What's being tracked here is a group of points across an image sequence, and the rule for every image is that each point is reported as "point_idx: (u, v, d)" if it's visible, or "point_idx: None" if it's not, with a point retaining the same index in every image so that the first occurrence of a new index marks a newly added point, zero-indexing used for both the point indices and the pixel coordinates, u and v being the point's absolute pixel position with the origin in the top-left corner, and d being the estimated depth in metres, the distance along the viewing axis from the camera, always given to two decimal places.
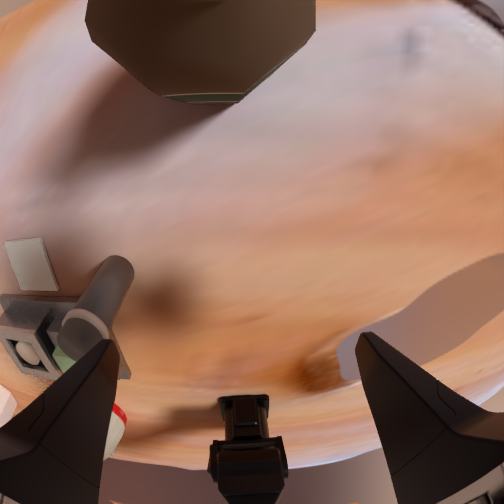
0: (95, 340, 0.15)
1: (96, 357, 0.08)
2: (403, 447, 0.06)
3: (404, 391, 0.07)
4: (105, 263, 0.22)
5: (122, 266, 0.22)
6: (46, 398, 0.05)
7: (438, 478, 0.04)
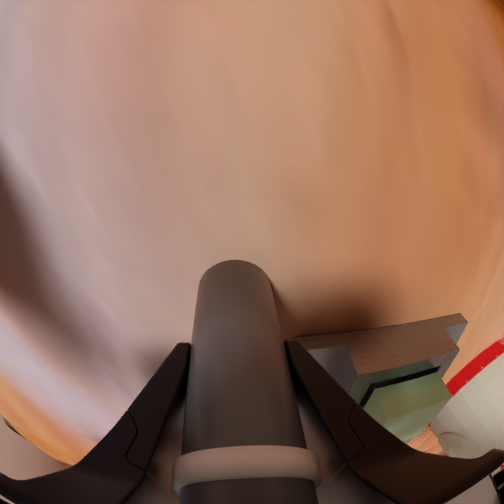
0: None
1: (180, 363, 0.08)
2: None
3: (312, 410, 0.06)
4: None
5: (205, 287, 0.11)
6: (135, 416, 0.06)
7: None
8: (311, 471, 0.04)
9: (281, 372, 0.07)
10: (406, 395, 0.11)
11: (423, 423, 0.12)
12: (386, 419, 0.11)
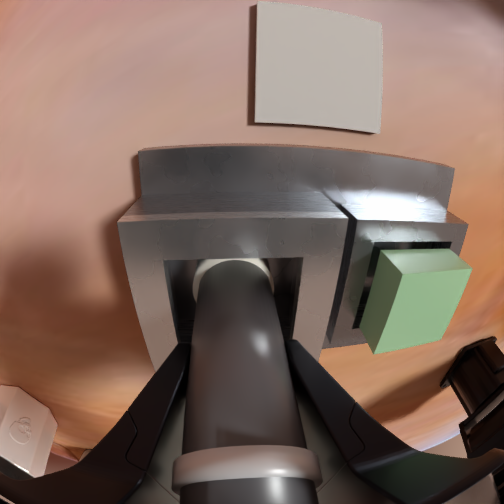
0: None
1: (180, 363, 0.08)
2: None
3: (313, 410, 0.06)
4: None
5: (205, 287, 0.11)
6: (135, 416, 0.06)
7: None
8: (311, 471, 0.04)
9: (281, 372, 0.07)
10: None
11: (413, 336, 0.11)
12: (469, 267, 0.10)
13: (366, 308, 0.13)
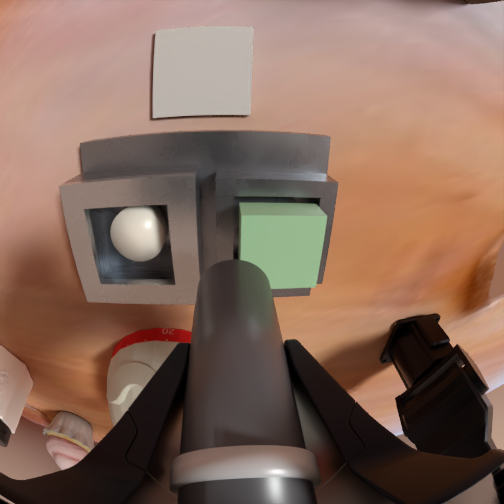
0: None
1: (180, 363, 0.08)
2: None
3: (312, 410, 0.06)
4: None
5: (204, 286, 0.11)
6: (135, 416, 0.06)
7: None
8: (310, 471, 0.04)
9: (280, 372, 0.07)
10: None
11: (277, 277, 0.16)
12: (324, 215, 0.14)
13: (238, 253, 0.17)
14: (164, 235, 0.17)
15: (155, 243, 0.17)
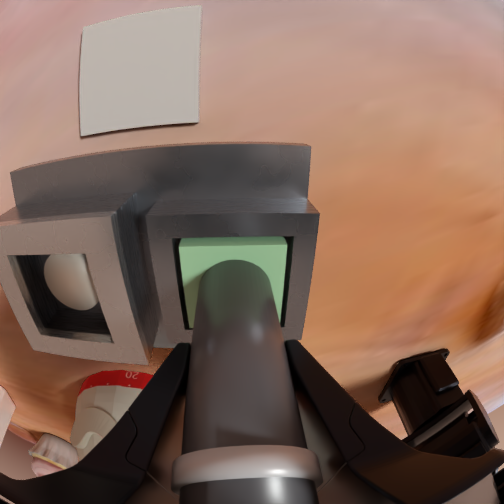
0: None
1: (180, 363, 0.08)
2: None
3: (312, 410, 0.06)
4: None
5: (205, 286, 0.11)
6: (135, 416, 0.06)
7: None
8: (312, 471, 0.04)
9: (281, 371, 0.07)
10: None
11: None
12: (283, 243, 0.12)
13: None
14: None
15: (91, 291, 0.13)
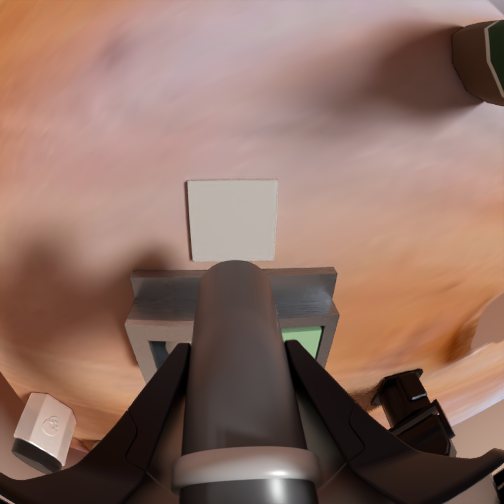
0: None
1: (180, 363, 0.08)
2: None
3: (312, 410, 0.06)
4: None
5: (205, 287, 0.11)
6: (135, 416, 0.06)
7: None
8: (312, 472, 0.04)
9: (282, 372, 0.07)
10: None
11: None
12: (319, 329, 0.21)
13: None
14: None
15: None
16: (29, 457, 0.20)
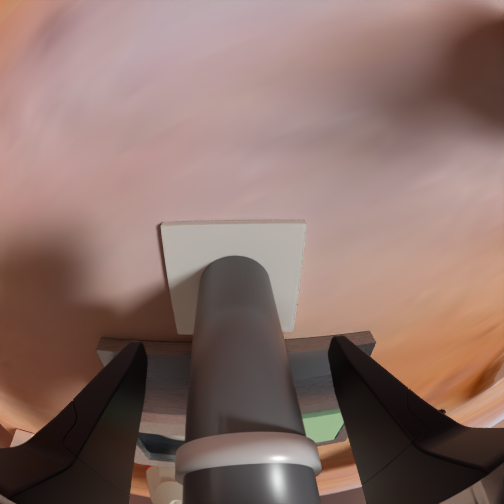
0: (229, 502, 0.04)
1: (127, 360, 0.08)
2: (372, 457, 0.06)
3: (371, 399, 0.06)
4: None
5: (206, 282, 0.11)
6: (77, 406, 0.05)
7: (405, 493, 0.04)
8: (310, 458, 0.05)
9: (281, 363, 0.08)
10: None
11: None
12: None
13: None
14: None
15: None
16: None
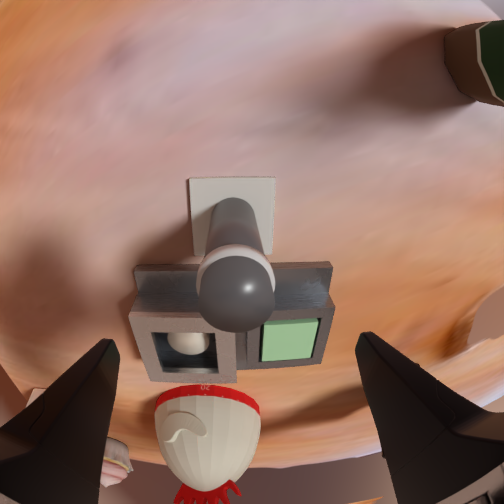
0: (224, 267, 0.11)
1: (96, 357, 0.08)
2: (403, 447, 0.06)
3: (404, 391, 0.07)
4: None
5: (216, 209, 0.19)
6: (46, 398, 0.05)
7: (438, 478, 0.04)
8: (266, 262, 0.13)
9: (255, 235, 0.15)
10: None
11: (285, 354, 0.24)
12: (316, 321, 0.22)
13: (260, 336, 0.25)
14: None
15: (202, 345, 0.23)
16: None
